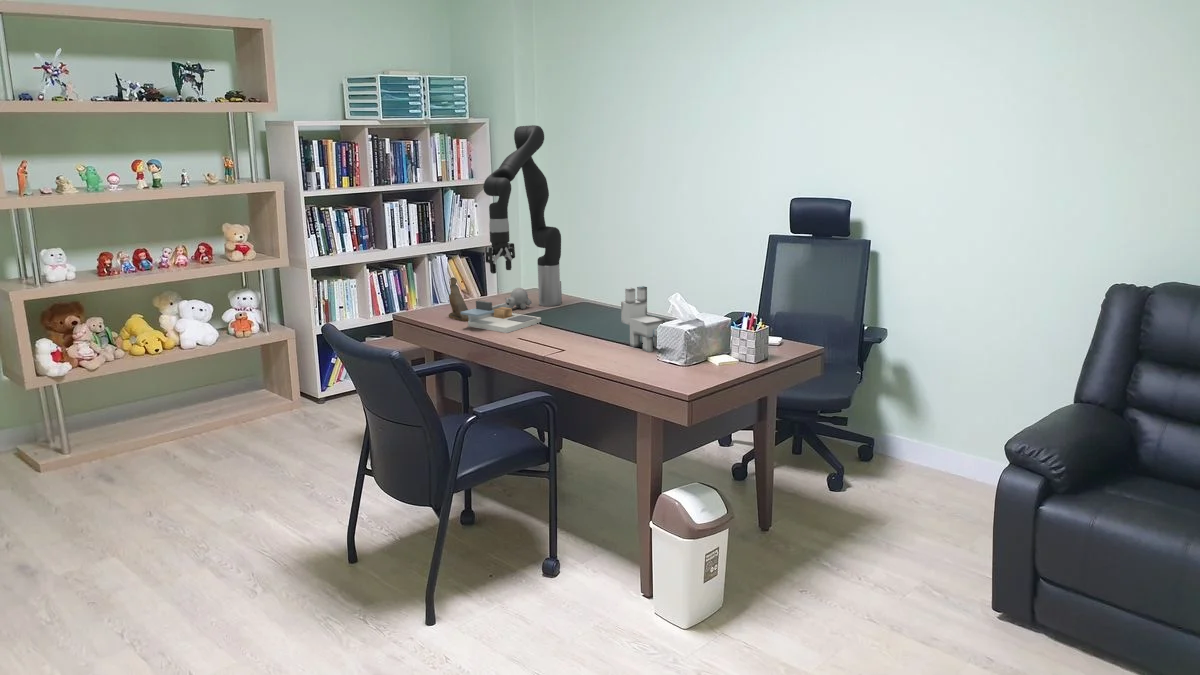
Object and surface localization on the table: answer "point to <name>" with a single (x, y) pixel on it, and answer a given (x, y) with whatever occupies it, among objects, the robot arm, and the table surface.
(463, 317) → the worn brown figurine
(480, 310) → the sliding lid
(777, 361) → the table surface
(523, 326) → the puzzle board
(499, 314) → the wooden block
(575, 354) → the table surface
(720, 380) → the table surface
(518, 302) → the round bodied animal figurine
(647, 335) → the toy llama
